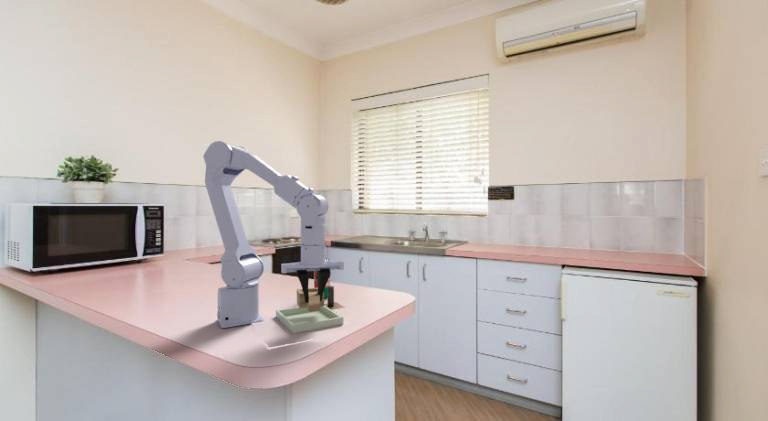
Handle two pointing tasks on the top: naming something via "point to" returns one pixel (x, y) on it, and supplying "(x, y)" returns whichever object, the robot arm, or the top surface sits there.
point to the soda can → (326, 283)
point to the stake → (332, 299)
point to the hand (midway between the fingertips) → (313, 301)
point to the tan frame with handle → (310, 299)
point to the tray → (308, 319)
